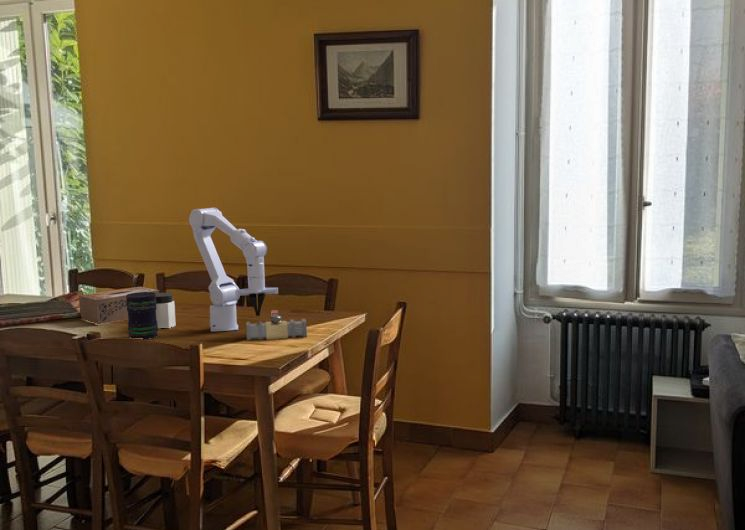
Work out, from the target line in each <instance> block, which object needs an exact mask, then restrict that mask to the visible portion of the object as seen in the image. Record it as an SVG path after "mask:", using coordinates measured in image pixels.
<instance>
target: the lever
mask: <svg viewBox="0 0 745 530" xmlns="http://www.w3.org/2000/svg"><path fill="white" fill-rule="evenodd" d="M270 313H271V316H270V322H271V323H280V322H282V321H283V320H282V316H281V315H279V311H278V310H277V309H276V310H275V309H274V310H273V309H272V310H271V312H270Z"/></svg>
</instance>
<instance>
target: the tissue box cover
mask: <svg viewBox="0 0 745 530" xmlns="http://www.w3.org/2000/svg"><path fill="white" fill-rule="evenodd" d="M137 292H154V293H160V290H159V289H154V288H149V287H143V286H137V287H136V286H135V287H128V288H122V289H115V290H108V291H102V292H96V293H95V292H94V293H87V294H80V295H78V304H79V315H80V314H81V317H82V318H83V319H85V320H88V321H90V322H94V323H97V324H101V323H106V322H111V321H117V320H123V319H128V312H127V306H126V303H127V302H126V299H127V298H126V295H127V294H131V293H137Z"/></svg>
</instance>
